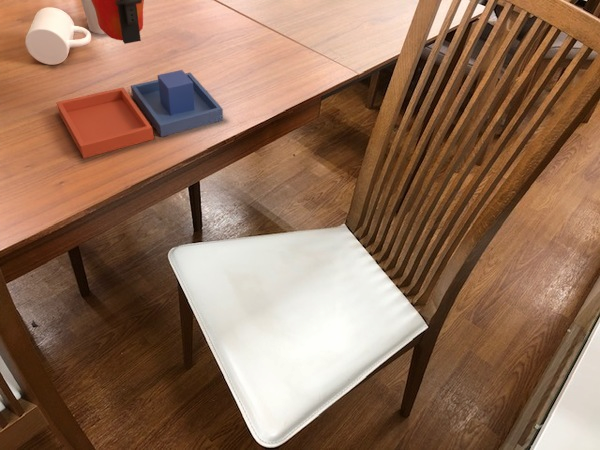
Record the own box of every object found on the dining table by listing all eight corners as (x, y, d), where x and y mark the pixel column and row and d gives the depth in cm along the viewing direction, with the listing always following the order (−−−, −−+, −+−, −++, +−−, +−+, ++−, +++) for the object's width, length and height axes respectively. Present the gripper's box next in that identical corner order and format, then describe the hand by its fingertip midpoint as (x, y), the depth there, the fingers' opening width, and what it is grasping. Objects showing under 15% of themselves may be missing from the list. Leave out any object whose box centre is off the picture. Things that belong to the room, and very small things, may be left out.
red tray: (59, 114, 95) (56, 102, 93) (125, 98, 100) (123, 87, 98) (83, 158, 87) (80, 146, 85) (154, 139, 92) (152, 127, 91)
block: (160, 102, 100) (157, 75, 95) (184, 96, 102) (182, 69, 97) (170, 115, 97) (167, 88, 93) (194, 109, 99) (193, 82, 95)
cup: (91, 18, 122) (80, -35, 113) (124, 21, 122) (116, -31, 114) (80, 33, 117) (67, -21, 108) (114, 37, 117) (105, -17, 108)
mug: (31, 65, 105) (19, 28, 100) (40, 42, 112) (30, 6, 106) (92, 65, 108) (84, 29, 102) (97, 43, 114) (90, 7, 108)
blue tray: (132, 97, 101) (130, 85, 99) (190, 83, 106) (190, 72, 105) (161, 137, 93) (159, 125, 91) (222, 120, 99) (222, 108, 97)
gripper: (155, -110, 65) (168, 54, 81) (97, -151, 76) (119, -1, 93) (97, -107, 62) (123, 63, 78) (45, -151, 73) (77, 5, 89)
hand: (121, 28), depth 85 cm, fingers closed on apple, 9 cm apart
